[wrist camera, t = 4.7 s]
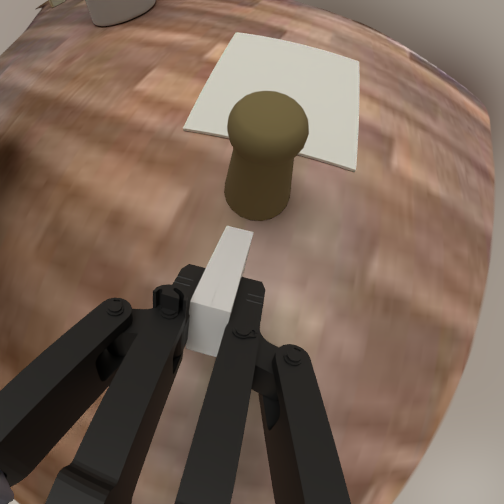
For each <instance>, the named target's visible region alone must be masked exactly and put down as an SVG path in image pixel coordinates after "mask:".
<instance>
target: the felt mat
mask: <svg viewBox="0 0 504 504" xmlns="http://www.w3.org/2000/svg"><path fill="white" fill-rule="evenodd" d="M257 91H276V92H279V93H282V94H285V95H287V96H289V97H291V98H293V99H294V100H296V102H297V103H298V104H299V105H300V106H301V107H302V108H303V110H304V112H305V114H306V116H307V118H308V125H309V135H308V138H307V140H306V143H305V145H304V148H303V149H302V150H301V151H300V152H299V153H298V154H297V155H300V156H303V157H307V158H311V159H314V160H318V161H321V162H324V163H328V164H331V165H334V166H337V167H341V168H344V169H347V170H350V171H353V172H355V171H356V161H357V146H358V126H359V61H356V60H353V59H350V58H347V57H344V56H341V55H338V54H335V53H331V52H328V51H325V50H321V49H317V48H314V47H310V46H306V45H302V44H298V43H294V42H289V41H285V40H280V39H275V38H270V37H264V36H258V35H252V34H245V33H238V32H236V33H235V35H234V36H233V38H232V39H231V41H230V43H229V44H228V46H227V48H226V49H225V51H224V53H223V54H222V56H221V58H220V59H219V61H218V63H217V64H216V66H215V68H214V70H213V72H212V73H211V75H210V77H209V79H208V80H207V82H206V84H205V86H204V88H203V90H202V92H201V93H200V95H199V97H198V99H197V101H196V103H195V105H194V107H193V109H192V111H191V113H190V115H189V117H188V119H187V121H186V123H185V125H184V127H183V130H184V131H190V132H196V133H202V134H207V135H213V136H218V137H223V138H228V139H229V136H228V132H227V124H228V117H229V114H230V112H231V110H232V108H233V107H234V105H235V104H236V103H237V102H238V101H239V100H241V99H242V98H243V97H245V96H246V95H248V94H251V93H253V92H257Z"/></svg>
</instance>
